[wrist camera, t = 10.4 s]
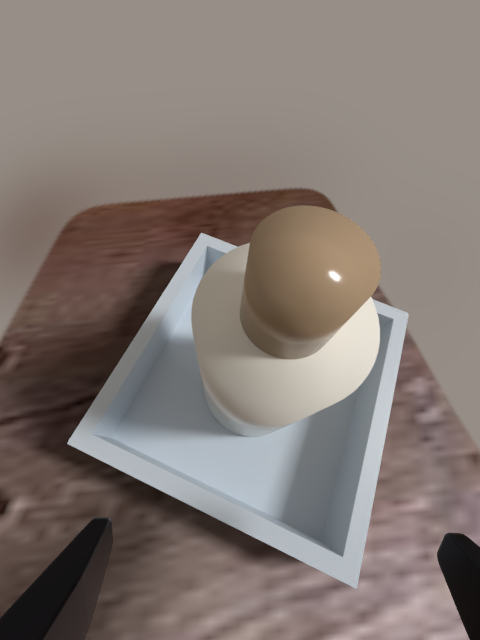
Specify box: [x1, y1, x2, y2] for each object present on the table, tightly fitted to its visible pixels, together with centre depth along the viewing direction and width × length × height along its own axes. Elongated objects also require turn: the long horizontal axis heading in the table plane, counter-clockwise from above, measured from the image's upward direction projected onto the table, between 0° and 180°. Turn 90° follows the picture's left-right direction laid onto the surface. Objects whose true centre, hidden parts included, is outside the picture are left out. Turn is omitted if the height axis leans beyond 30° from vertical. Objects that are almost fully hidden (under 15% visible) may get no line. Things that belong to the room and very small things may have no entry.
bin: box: [67, 233, 409, 589], centre depth 17 cm, size 14×14×4 cm
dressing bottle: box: [191, 206, 381, 437], centre depth 13 cm, size 6×6×13 cm
